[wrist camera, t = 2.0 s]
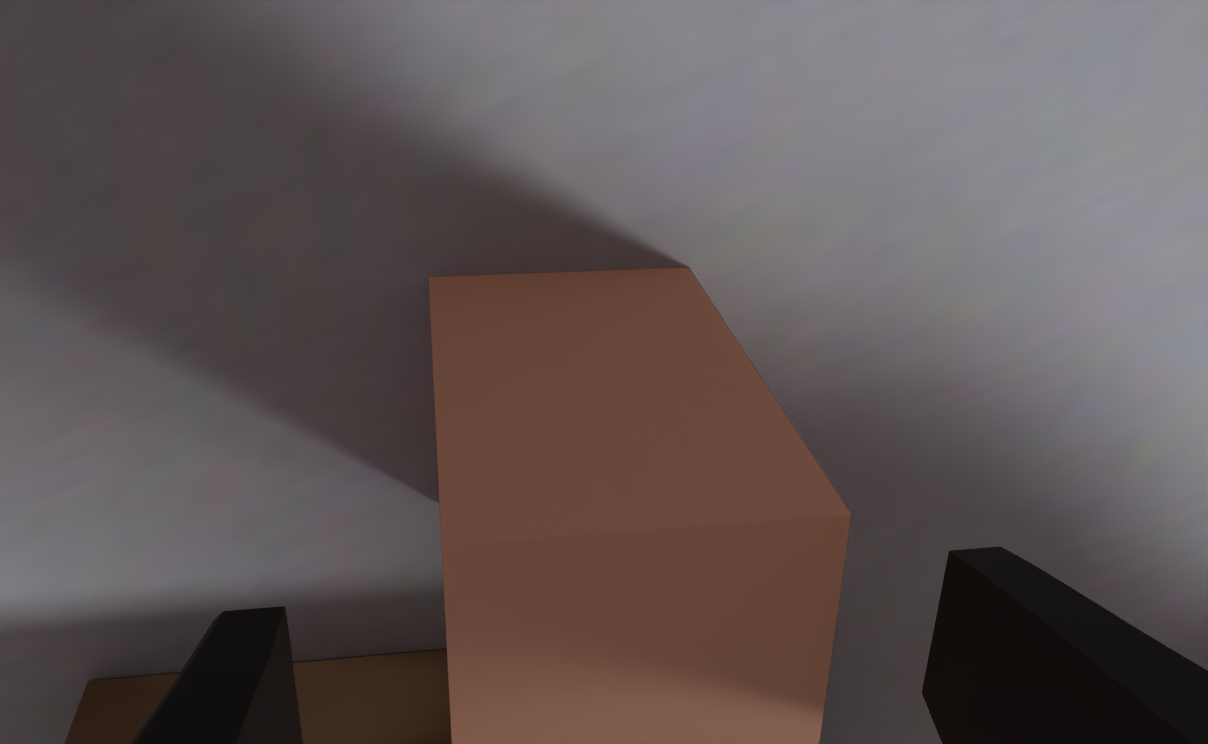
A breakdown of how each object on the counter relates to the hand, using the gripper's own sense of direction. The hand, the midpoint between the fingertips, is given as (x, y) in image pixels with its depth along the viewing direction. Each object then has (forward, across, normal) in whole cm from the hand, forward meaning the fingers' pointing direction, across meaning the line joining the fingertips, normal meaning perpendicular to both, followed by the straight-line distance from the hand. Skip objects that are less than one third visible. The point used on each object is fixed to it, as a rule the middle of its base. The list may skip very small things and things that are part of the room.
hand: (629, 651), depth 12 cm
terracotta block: (+6, 0, 0) cm, 6 cm away
